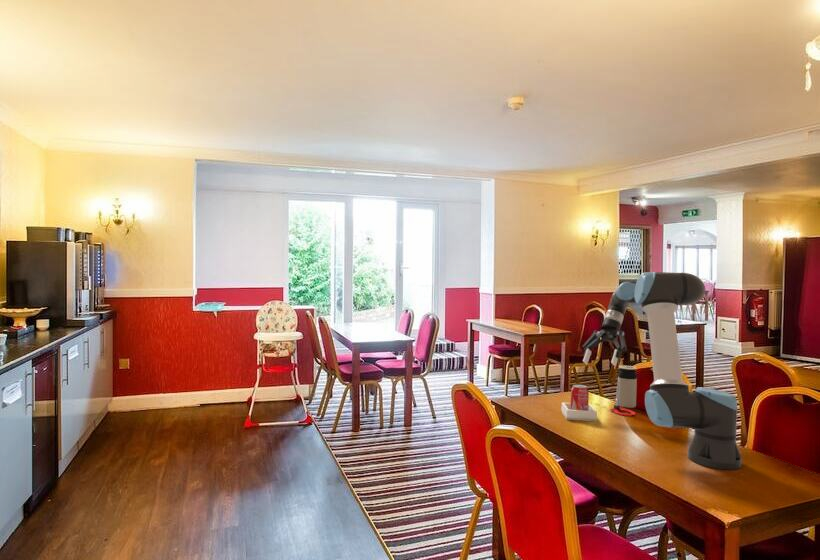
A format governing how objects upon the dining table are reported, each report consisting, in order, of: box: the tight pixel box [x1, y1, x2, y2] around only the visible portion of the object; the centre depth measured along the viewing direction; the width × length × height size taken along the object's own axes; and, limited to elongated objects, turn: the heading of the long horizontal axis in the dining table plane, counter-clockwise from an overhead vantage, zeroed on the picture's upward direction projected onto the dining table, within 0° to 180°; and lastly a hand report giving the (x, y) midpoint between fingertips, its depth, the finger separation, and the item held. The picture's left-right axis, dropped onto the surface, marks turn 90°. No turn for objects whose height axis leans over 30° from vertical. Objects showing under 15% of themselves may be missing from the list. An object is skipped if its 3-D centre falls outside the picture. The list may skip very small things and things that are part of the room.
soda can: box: [570, 383, 590, 411], centre depth 212 cm, size 7×7×12 cm
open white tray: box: [561, 402, 598, 422], centre depth 213 cm, size 12×12×4 cm
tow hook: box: [609, 381, 636, 417], centre depth 219 cm, size 8×13×9 cm
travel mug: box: [617, 365, 638, 409], centre depth 231 cm, size 8×8×18 cm
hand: (598, 363), depth 215 cm, fingers open, 13 cm apart
